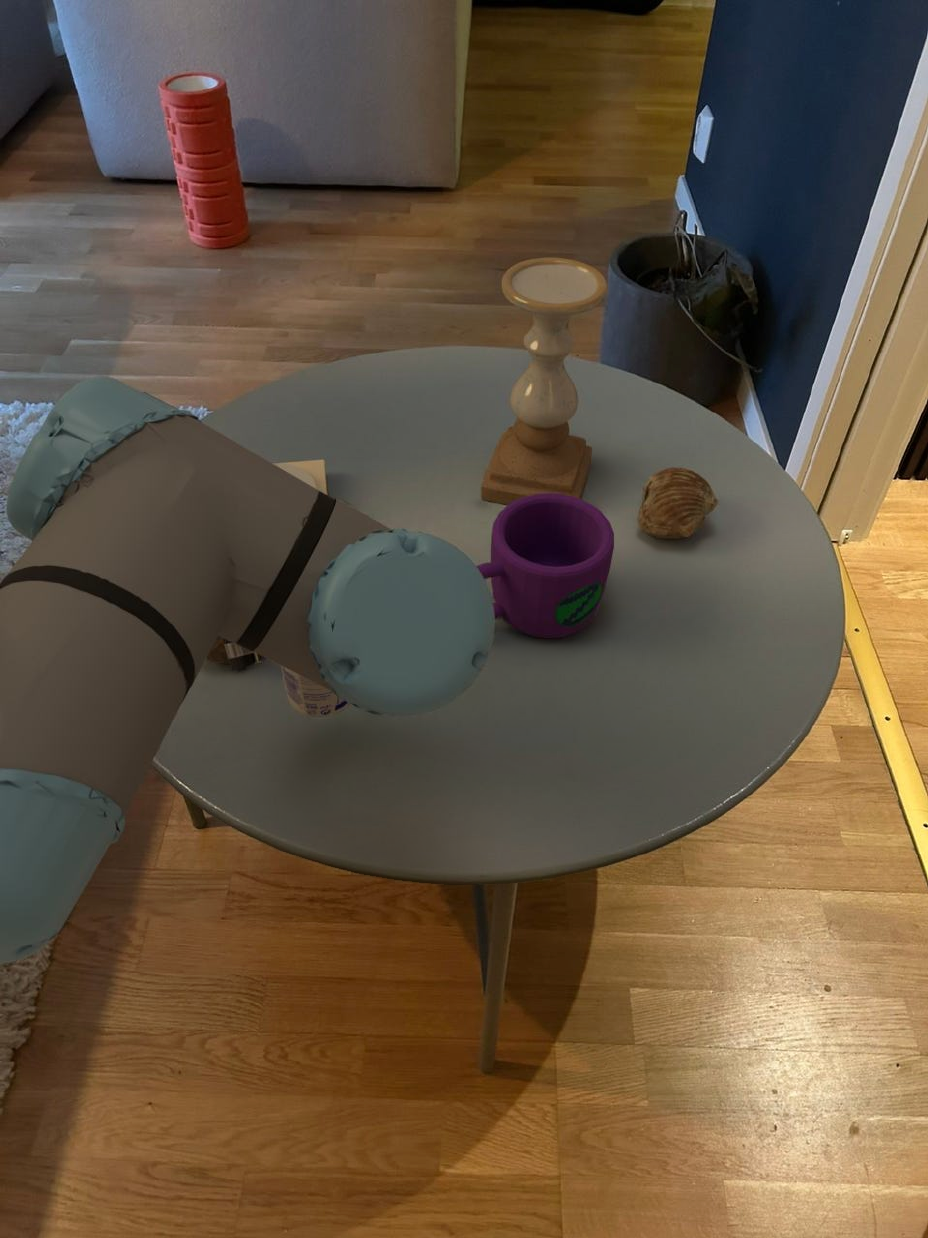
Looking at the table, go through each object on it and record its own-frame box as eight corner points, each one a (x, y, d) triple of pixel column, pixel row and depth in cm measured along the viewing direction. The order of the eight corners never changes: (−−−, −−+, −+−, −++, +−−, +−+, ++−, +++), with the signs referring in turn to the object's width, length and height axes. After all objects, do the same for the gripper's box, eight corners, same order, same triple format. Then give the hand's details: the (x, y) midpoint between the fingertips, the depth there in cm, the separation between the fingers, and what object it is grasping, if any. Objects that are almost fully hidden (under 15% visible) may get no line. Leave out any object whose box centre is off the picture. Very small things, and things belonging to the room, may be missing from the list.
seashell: (711, 512, 102) (641, 492, 103) (730, 461, 96) (657, 440, 98) (698, 563, 95) (624, 541, 96) (718, 511, 90) (640, 488, 91)
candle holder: (575, 517, 100) (602, 316, 82) (479, 499, 102) (485, 299, 84) (592, 458, 107) (619, 262, 89) (502, 443, 109) (511, 248, 91)
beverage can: (368, 704, 73) (355, 570, 62) (304, 731, 71) (278, 598, 60) (339, 657, 76) (322, 523, 65) (277, 682, 74) (248, 548, 63)
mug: (559, 551, 96) (568, 476, 89) (625, 619, 89) (641, 544, 82) (415, 612, 90) (412, 537, 82) (475, 690, 83) (477, 616, 76)
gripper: (200, 739, 47) (199, 699, 70) (521, 641, 52) (425, 633, 75) (159, 600, 47) (171, 605, 69) (488, 515, 52) (401, 545, 74)
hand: (303, 620), depth 72 cm, fingers closed on beverage can, 6 cm apart
